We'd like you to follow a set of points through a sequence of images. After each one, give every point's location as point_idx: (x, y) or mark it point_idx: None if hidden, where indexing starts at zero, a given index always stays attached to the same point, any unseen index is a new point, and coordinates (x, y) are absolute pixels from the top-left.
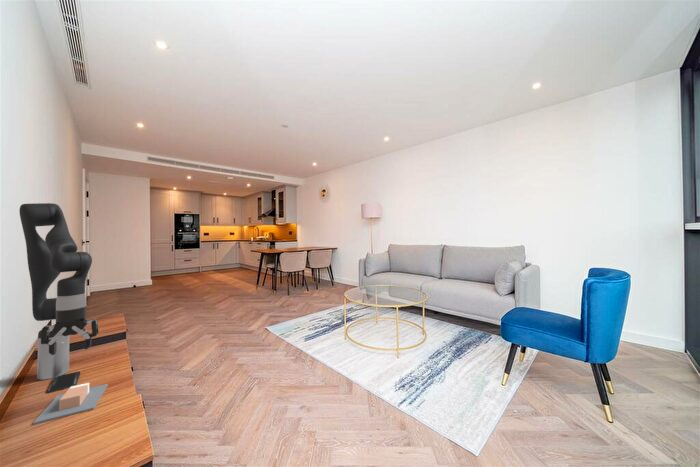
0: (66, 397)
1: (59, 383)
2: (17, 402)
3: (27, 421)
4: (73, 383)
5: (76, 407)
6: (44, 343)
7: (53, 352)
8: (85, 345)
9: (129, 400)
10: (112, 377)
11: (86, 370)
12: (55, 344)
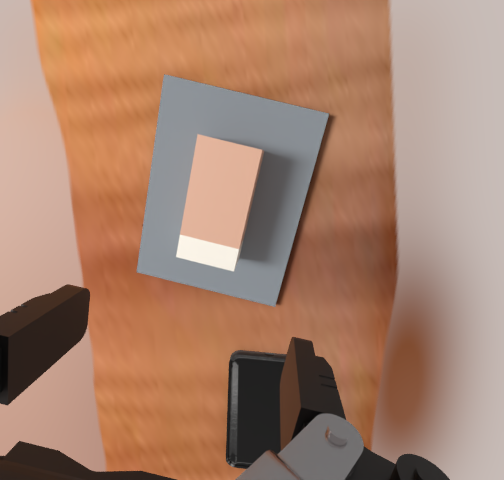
0: (240, 157)
1: (276, 406)
2: (374, 354)
3: (343, 161)
4: (238, 371)
5: (216, 130)
6: (404, 459)
7: (298, 348)
8: (56, 300)
9: (58, 49)
10: (131, 332)
11: (211, 464)
12: (288, 432)
